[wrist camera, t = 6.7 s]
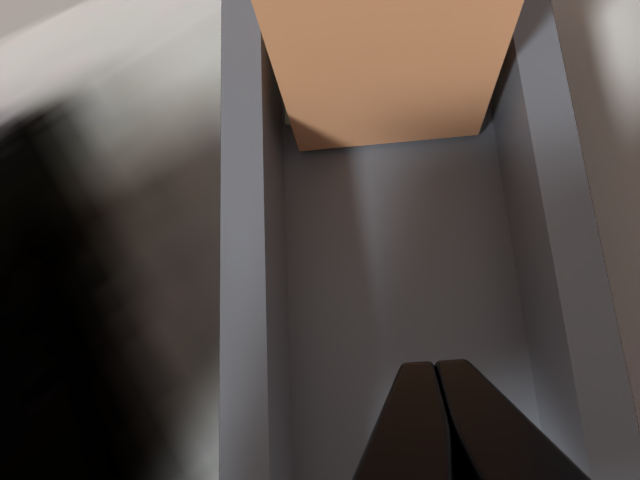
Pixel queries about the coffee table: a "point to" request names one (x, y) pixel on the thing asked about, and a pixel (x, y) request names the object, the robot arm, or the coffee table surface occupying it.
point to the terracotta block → (385, 66)
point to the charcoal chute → (410, 270)
